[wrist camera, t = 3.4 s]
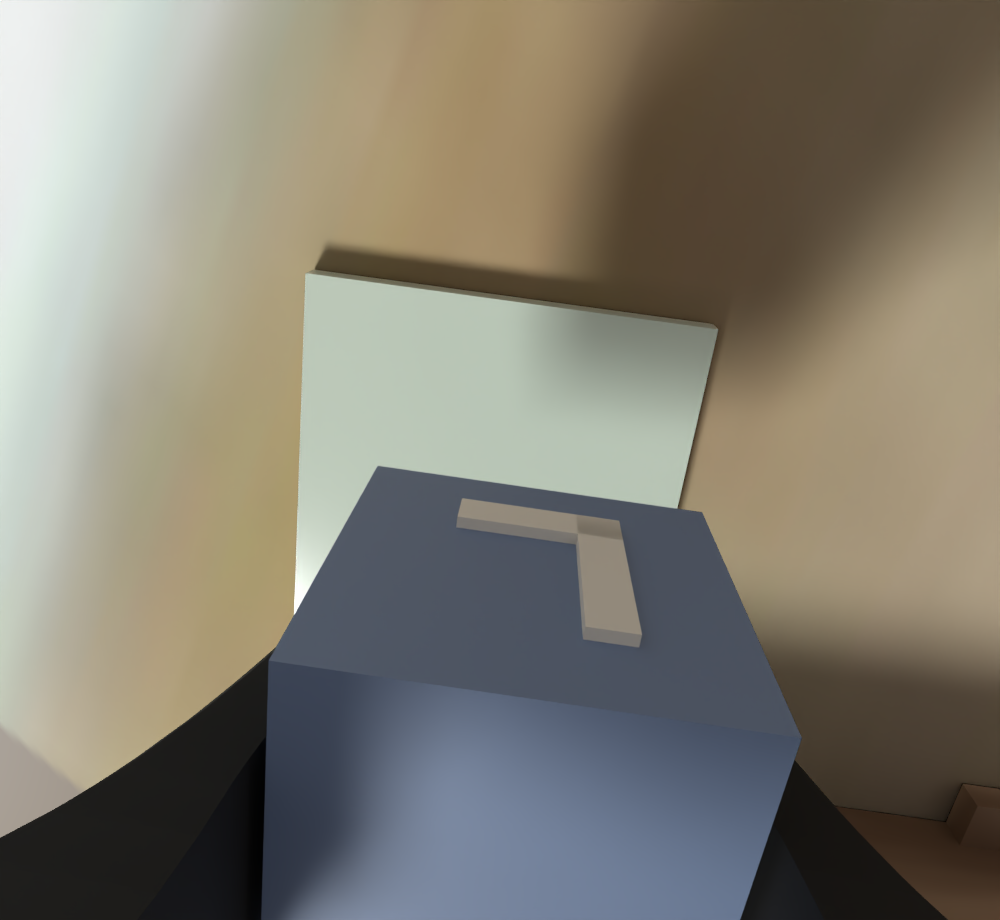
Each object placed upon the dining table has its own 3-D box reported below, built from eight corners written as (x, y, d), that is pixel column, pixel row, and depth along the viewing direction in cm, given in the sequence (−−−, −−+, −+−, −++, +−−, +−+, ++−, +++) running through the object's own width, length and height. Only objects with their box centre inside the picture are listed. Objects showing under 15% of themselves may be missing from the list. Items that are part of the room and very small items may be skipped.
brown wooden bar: (984, 898, 23) (1141, 1164, 17) (511, 830, 23) (498, 1070, 17) (1035, 794, 21) (1226, 1043, 15) (530, 722, 22) (522, 941, 16)
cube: (637, 768, 14) (684, 1081, 9) (356, 727, 14) (258, 1019, 9) (704, 502, 12) (806, 724, 7) (378, 456, 12) (269, 646, 7)
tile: (636, 659, 21) (639, 673, 20) (300, 612, 21) (294, 624, 20) (712, 323, 17) (718, 329, 17) (313, 269, 17) (305, 272, 17)
